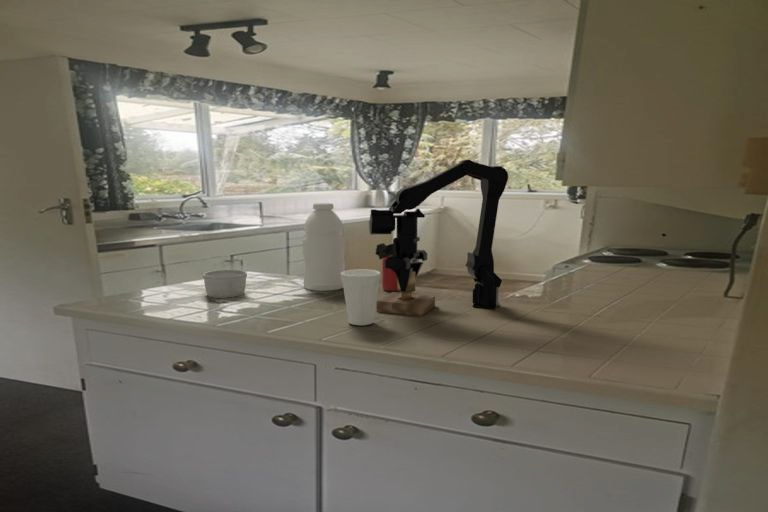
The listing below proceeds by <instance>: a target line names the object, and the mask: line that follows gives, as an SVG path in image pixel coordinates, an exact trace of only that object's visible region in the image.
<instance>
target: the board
mask: <svg viewBox="0 0 768 512" xmlns="http://www.w3.org/2000/svg"><path fill="white" fill-rule="evenodd" d="M435 307H436V296H435V295H428V294H417V293H411V300H401V292H398V291H393V292H392V291H391V292H389V294H386V295H385V296H383V297H381V298H379V299H377V301H376V312H378V313H379V312H380V313H389V314H399V315H408V316H417V317H423V316H424V315H425V314H426V313H428V312H429V311H431V309H433V308H435Z"/></svg>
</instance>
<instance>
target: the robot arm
mask: <svg viewBox="0 0 768 512" xmlns="http://www.w3.org/2000/svg"><path fill="white" fill-rule="evenodd" d="M466 176H467V177H470V178H473V179H474V180H478V181H480V190H481V194H482V195H481V196H482V200H481V201H482V202H481V208H480V215H479V222H478V228H477V235H476V236H477V237H476V241H475V242H476V243H475V248H474V250H473V251H472V252H467V255H466V256H467V260H466V264H465V267H467V273H468V274H469V276H471V277H472V278H473V281H474V283H475V284H474V288H473V290H472V301H471V303H472V307H473V308H482V309H483V308H484V309H493V310H495V309H497V307H498V306H499V305H500V302H499V288H500V287H501V284H502V282H503V280H502V279H501V278H500V277H499V276H498V275H497V274H496V272H495V262H494V261H495V259H494V255H493V250H492V249H493V242H494V236H495V235H494V234H495V229H496V222H497V215H498V210H499V201H500V198H501V197H502V195H503V193H504V192H505V190H506V186H507V183H508V180H509V172H508V171H507V170H506V168H505V167H503V166H500V165H493V166H490V165H486V164H482V163H478V162H475V161H473V160H471V159H463V160H460V161H459V162H458V163H456V164H455V165H453V166H451V167H449V168H447V169H445V170H444V171H442V172H439V173H438V174H436V175H434V176H432V177H430V178H428V179H426V180H425V181H423V182H419V183H415V184H413V185H408V186H406V187H403V188H400V189H399V190H398V191H396V194H395V200H394V202H393V203H392V204H391V205H390V207H389V208H388V209H376V208H375V209H370V215H369V220H368V229H369V235H391V234H392V232H394V231H395V230H396V237H394V238H393V239H392V243H389V244H386V243H380V244H376V249H375V256H378V257H379V260H383V258H386V257H389V256H390V255H392V256H391V257H389V258H387V259H386V260H385V261H384V267H385V268H388V269H390V270H393V271H394V272H395V273H396V275H397V278H398V282H399V285H400V289H401V291H403V292H405V291H406V288H407V285H408V282H409V279H410V276H411V273H412V271H415V281H416V280H417V277H418V275H419V273H420V270H421V268H422V267H423V265H424V262H425V261H427V260H428V252H427V251H426V250H424V249H418V242H420V236H418V219H419V218H423V219H424V218H425V217H426V215H425V214H424V213H423V212H422V211H421V209H420V208H417V207H418V206H419V205H421V204H423V202H425V200H427V199H428V198H429V196H432V194H434V193H436V192H438V191H439V190H441V189H443V188H446V187H447V186H449V185H451V184H453V183H454V182H456V181H458V180H460V179H462V178H464V177H466ZM414 209H415V210H414ZM407 210H408V211H407ZM412 210H414V211H412ZM402 213H403V214H402ZM420 260H421V261H420Z"/></svg>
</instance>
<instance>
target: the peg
mask: <svg viewBox="0 0 768 512" xmlns="http://www.w3.org/2000/svg"><path fill="white" fill-rule="evenodd" d="M397 290H398V291H397V292H399V293H401V300H411V294H412V292H416V280H415V271H412V273H411V276H410V279H409V282H408V285H407V288H406V291H405V292H403V291H401V289H400V285H399V282H398V278H397Z"/></svg>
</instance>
